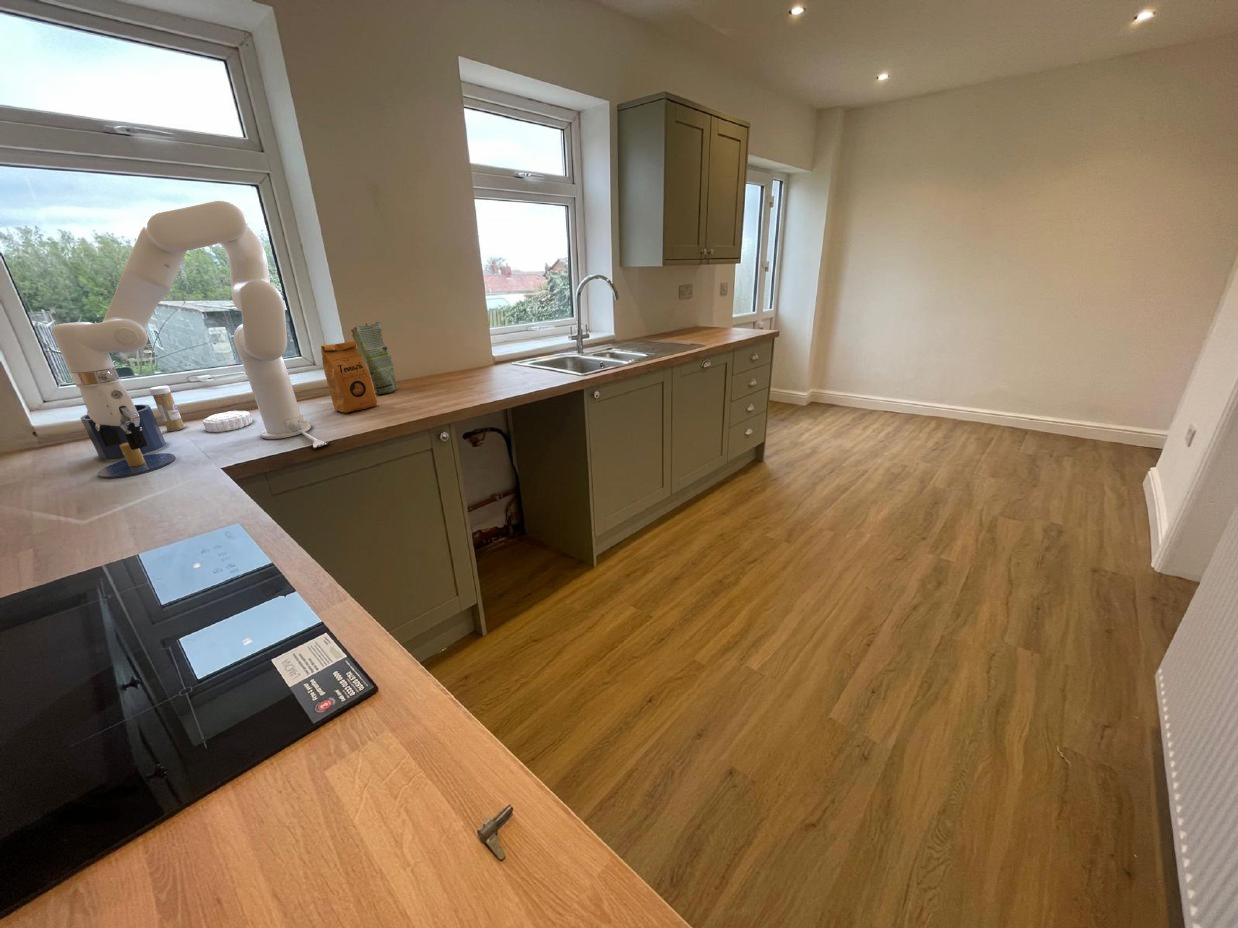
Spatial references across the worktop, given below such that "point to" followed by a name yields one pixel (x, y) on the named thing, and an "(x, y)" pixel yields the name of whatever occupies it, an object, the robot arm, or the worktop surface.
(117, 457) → the tin
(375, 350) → the pouch
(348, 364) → the coffee package
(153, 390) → the sprinkles bottle
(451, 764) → the worktop surface
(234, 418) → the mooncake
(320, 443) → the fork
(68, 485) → the worktop surface
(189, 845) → the worktop surface
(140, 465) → the tin lid
